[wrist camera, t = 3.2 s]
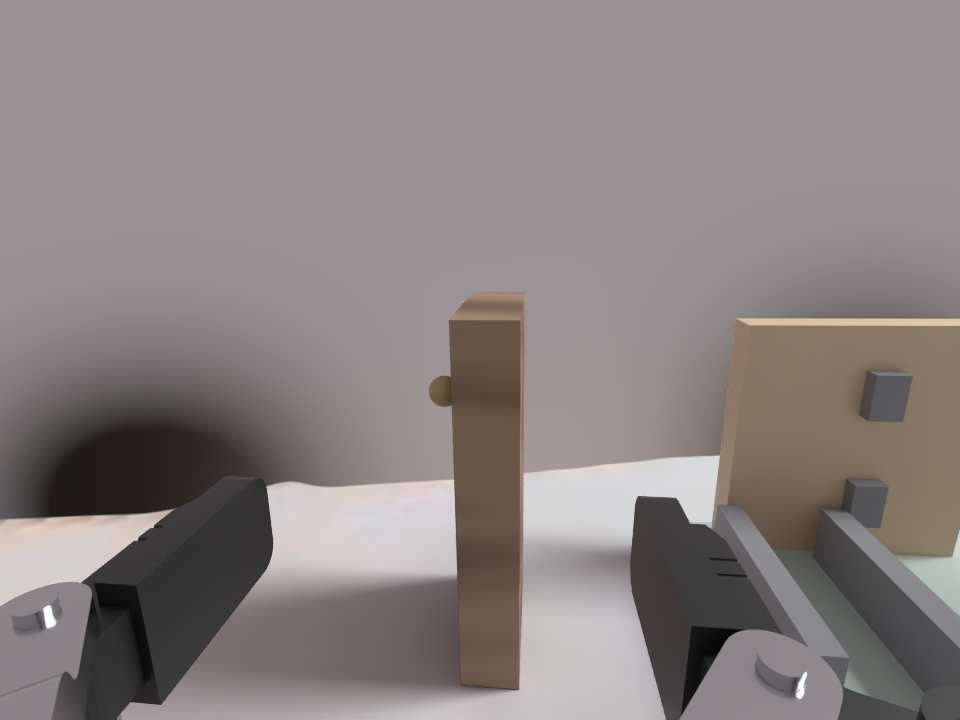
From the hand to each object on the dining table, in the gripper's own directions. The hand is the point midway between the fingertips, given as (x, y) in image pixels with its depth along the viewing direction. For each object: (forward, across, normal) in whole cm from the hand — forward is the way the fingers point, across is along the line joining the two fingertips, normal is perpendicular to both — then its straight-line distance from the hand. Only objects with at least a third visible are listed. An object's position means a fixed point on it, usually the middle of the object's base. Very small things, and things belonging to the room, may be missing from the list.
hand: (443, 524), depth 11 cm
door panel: (+12, 0, +13) cm, 17 cm away
